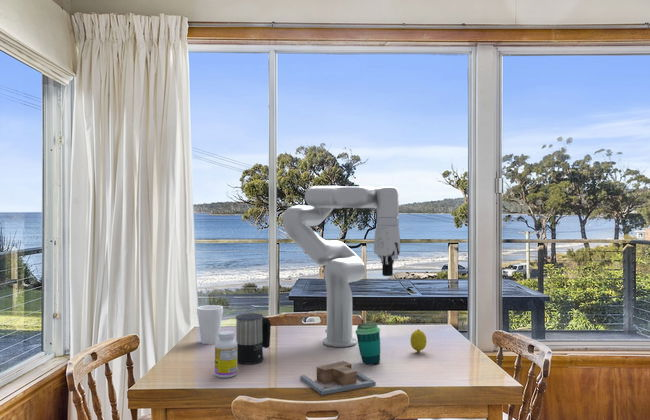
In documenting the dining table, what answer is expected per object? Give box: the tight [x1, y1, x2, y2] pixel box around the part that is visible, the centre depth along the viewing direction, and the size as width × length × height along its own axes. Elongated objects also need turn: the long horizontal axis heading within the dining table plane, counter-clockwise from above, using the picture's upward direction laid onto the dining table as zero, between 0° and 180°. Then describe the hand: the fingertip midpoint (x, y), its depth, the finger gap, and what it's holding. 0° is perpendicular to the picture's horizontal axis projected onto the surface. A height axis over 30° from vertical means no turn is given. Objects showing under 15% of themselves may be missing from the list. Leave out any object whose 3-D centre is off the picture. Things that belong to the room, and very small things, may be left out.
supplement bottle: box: [214, 330, 238, 379], centre depth 151 cm, size 7×7×13 cm
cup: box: [355, 322, 381, 366], centre depth 164 cm, size 8×8×12 cm
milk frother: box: [235, 312, 271, 365], centre depth 169 cm, size 14×16×15 cm
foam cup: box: [196, 304, 224, 345], centre depth 189 cm, size 10×9×13 cm
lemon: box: [409, 328, 427, 353], centre depth 175 cm, size 6×6×8 cm
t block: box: [316, 360, 358, 386], centre depth 145 cm, size 10×10×4 cm
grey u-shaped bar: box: [299, 368, 377, 396], centre depth 145 cm, size 14×17×1 cm
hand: (387, 275), depth 173 cm, fingers closed
